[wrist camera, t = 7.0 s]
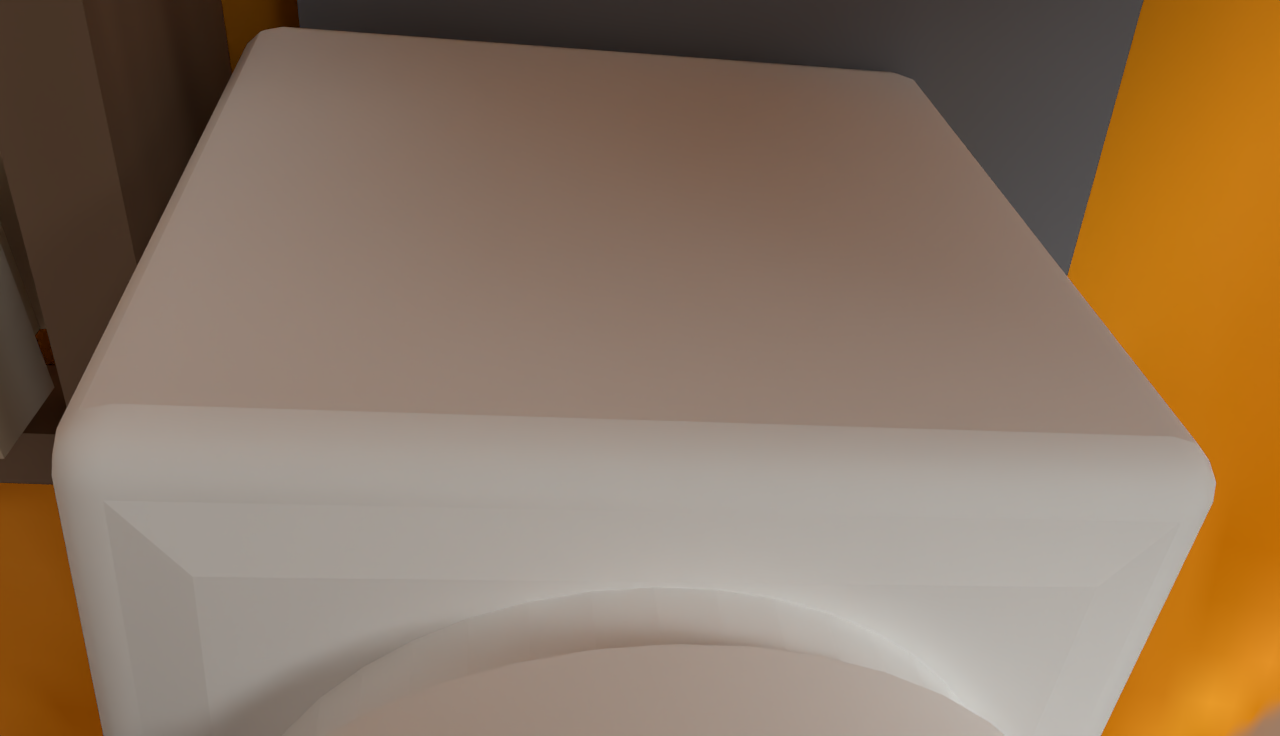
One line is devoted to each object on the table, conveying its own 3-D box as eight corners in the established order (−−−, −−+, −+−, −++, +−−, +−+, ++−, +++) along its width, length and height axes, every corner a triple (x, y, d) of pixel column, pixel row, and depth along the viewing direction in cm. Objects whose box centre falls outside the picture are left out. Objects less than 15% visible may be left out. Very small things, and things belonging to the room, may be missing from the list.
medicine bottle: (802, 549, 17) (1215, 1903, 7) (282, 541, 16) (-47, 2096, 6) (920, 63, 13) (2144, 1558, 3) (247, 12, 12) (-772, 1936, 2)
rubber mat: (1131, -39, 13) (1149, -22, 13) (968, 570, 18) (978, 599, 18) (303, -78, 13) (290, -64, 13) (366, 550, 18) (359, 578, 18)
